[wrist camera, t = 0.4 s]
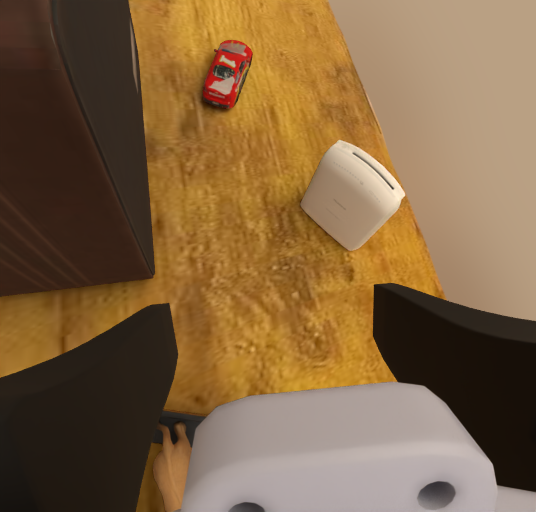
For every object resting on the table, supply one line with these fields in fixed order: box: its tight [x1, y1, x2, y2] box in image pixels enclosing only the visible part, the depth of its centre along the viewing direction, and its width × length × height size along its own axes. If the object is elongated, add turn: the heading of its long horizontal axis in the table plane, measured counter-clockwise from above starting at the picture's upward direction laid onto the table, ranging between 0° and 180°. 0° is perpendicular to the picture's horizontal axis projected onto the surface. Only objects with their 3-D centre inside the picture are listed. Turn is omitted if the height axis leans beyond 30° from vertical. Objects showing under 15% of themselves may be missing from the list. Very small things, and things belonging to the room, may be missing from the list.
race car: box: [203, 40, 253, 109], centre depth 51 cm, size 13×5×4 cm, turn 166°
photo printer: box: [300, 140, 405, 251], centre depth 41 cm, size 10×4×12 cm, turn 46°
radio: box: [0, 0, 155, 297], centre depth 30 cm, size 36×18×30 cm, turn 11°
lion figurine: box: [153, 421, 191, 512], centre depth 28 cm, size 15×5×9 cm, turn 36°
